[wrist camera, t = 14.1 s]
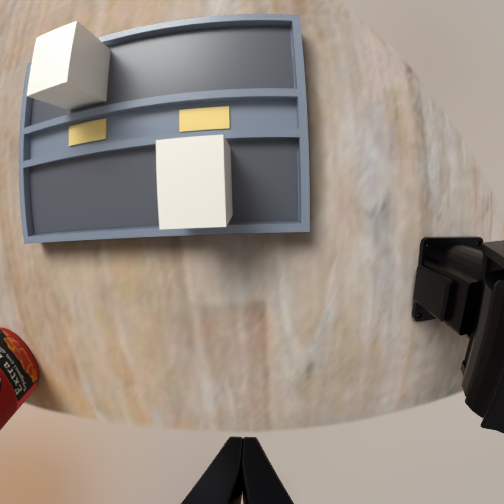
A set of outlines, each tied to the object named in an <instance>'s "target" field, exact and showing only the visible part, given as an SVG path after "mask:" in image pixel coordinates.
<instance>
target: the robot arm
mask: <svg viewBox="0 0 504 504" xmlns="http://www.w3.org/2000/svg"><path fill="white" fill-rule="evenodd" d="M427 242H428V243H429V244H428V246H427V247H426V243H427ZM477 243H478V245H477ZM413 298H414V304H413V310H412V318H413V319H414V320H415V321H425V320H432V319H438V320H440V321H441V322H444V323H446V324H447V325H448V326H449V327H451V328H452V329H453V330H454V331H455V332H457V333H458V334H459V335H465V336H466V337H467V338H469V339H470V340H469V344H468V348H467V352H466V356H465V360H464V361H463V362H462V366H461V371H462V373H463V382H462V387H463V390H464V393H465V396H466V399H465V403H466V404H467V405H468V406H469V408H470V409H471V410H472V411H473V412H475V413H476V414H477V415H479V416H480V417H482V418H484V419H483V421H482V423H481V427H482V428H486V429H492V430H497V431H499V432H502V433H504V241H495V242H485V243H483V239H482V238H480V237H424V238H423V239H422V240H421V243H420V255H419V265H418V267H417V274H416V282H415V290H414V297H413ZM418 313H420V314H419V315H418V316H417V314H418ZM242 494H243V504H294V503H293V501H292V500H291V498H290V496H289V495H288V493H287V491H286V490H285V488H284V486H283V484H282V483H281V481H280V479H279V478H278V476H277V474H276V472H275V471H274V469H273V467H272V465H271V463H270V462H269V460H268V458H267V456H266V454H265V452H264V450H263V449H262V447H261V445H260V443H259V441H258V439H257V438H256V437H244V438H242V437H230V438H229V439H228V440H227V442H226V443H225V444H224V446H223V447H222V449H221V450H220V452H219V453H218V455H217V456H216V457H215V459H214V460H213V462H212V463H211V464H210V466H209V467H208V469H207V470H206V471H205V473H204V474H203V475H202V477H201V478H200V479H199V481H198V482H197V483H196V485H195V486H194V487H193V489H192V490H191V491H190V493H189V494H188V495H187V496H186V498H185V499H184V500H183V502H182V503H181V504H241V498H242Z"/></svg>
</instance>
